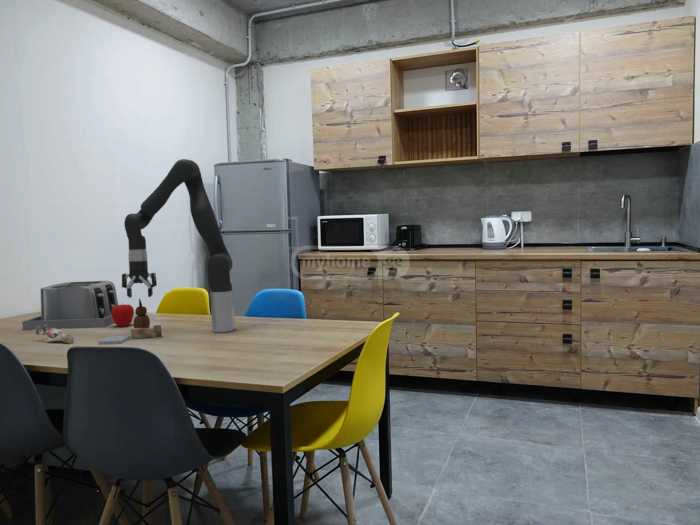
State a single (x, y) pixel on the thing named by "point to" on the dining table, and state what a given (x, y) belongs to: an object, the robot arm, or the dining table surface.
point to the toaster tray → (67, 323)
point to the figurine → (54, 334)
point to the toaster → (78, 300)
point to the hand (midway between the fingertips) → (140, 297)
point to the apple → (122, 315)
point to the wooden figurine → (141, 317)
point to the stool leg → (146, 332)
